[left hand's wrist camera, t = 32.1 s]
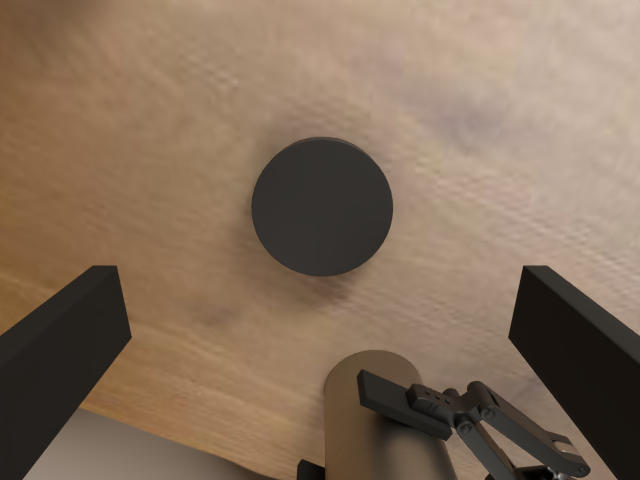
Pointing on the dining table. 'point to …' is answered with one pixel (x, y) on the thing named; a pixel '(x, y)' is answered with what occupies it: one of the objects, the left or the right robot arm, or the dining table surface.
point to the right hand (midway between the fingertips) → (328, 434)
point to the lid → (322, 206)
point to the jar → (376, 428)
